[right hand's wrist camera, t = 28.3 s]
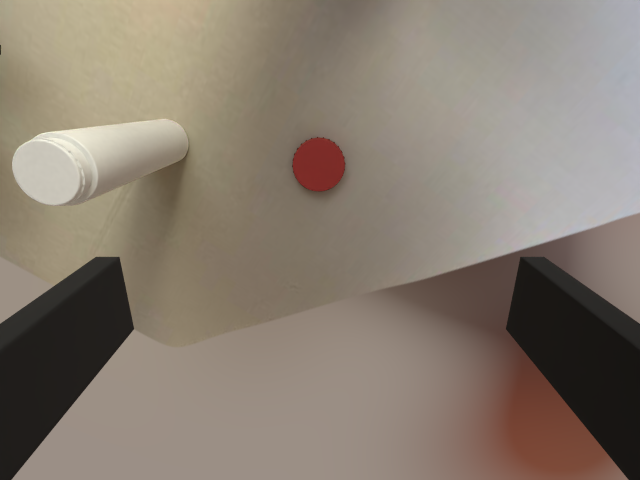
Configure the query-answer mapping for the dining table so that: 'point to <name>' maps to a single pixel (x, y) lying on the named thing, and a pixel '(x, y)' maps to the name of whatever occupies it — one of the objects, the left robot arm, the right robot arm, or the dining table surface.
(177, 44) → the dining table surface
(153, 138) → the bottle
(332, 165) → the lid
